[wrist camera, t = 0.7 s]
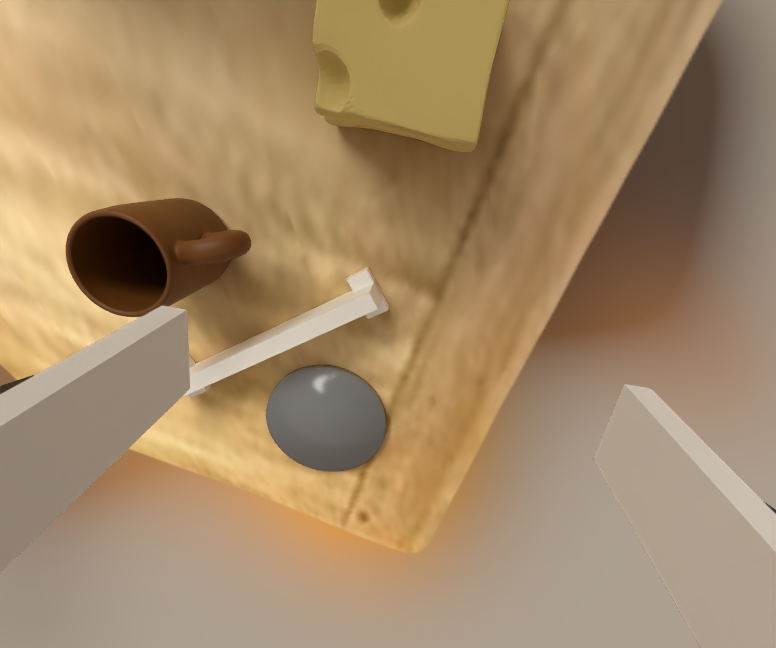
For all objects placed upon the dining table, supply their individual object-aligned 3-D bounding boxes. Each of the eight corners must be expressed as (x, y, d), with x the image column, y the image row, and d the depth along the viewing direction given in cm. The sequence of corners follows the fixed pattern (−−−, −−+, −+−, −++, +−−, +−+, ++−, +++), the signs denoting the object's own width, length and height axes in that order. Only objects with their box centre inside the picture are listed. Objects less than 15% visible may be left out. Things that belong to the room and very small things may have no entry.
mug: (269, 181, 34) (214, 187, 25) (291, 271, 36) (248, 305, 28) (137, 204, 35) (42, 217, 27) (167, 288, 38) (90, 325, 29)
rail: (172, 360, 41) (147, 380, 37) (368, 266, 36) (361, 278, 32) (196, 393, 42) (173, 415, 38) (389, 306, 37) (384, 322, 33)
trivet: (246, 391, 41) (243, 395, 40) (350, 346, 38) (349, 349, 38) (306, 479, 45) (304, 485, 44) (406, 444, 42) (405, 449, 41)
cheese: (332, 125, 32) (294, 109, 23) (358, -46, 28) (324, -152, 19) (463, 156, 32) (478, 152, 23) (507, -11, 28) (548, -100, 19)
